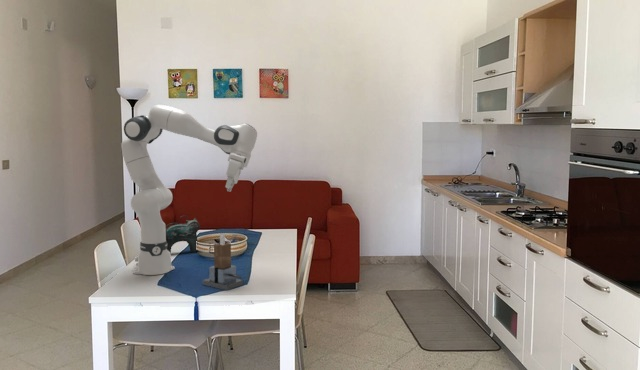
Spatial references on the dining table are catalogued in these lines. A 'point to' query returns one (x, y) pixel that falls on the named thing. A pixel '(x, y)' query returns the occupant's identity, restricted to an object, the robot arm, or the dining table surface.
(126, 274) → the dining table surface
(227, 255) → the walnut sleeve
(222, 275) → the vise
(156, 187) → the robot arm
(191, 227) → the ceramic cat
